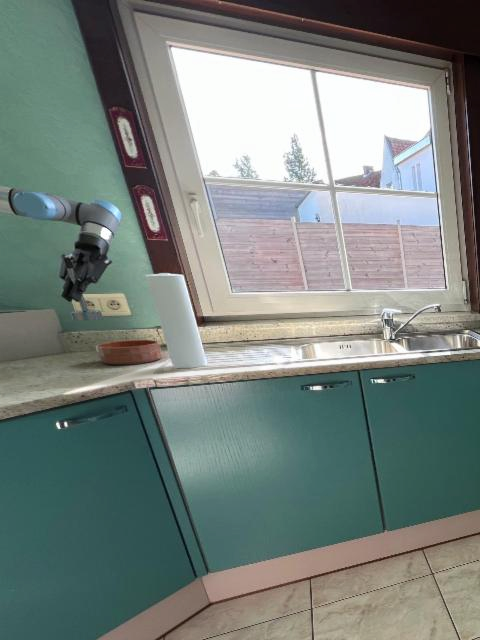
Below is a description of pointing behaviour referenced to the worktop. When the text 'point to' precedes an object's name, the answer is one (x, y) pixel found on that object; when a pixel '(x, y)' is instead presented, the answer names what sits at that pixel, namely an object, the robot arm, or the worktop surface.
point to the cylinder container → (177, 320)
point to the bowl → (129, 352)
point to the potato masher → (85, 313)
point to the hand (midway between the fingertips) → (70, 298)
